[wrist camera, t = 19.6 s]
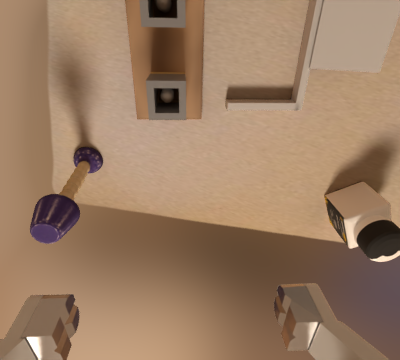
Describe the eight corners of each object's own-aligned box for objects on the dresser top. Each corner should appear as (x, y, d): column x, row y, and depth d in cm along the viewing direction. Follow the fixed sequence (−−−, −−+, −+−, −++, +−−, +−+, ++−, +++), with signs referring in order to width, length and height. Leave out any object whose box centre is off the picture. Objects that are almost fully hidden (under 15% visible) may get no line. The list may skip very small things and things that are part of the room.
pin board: (204, -66, 29) (209, -84, 24) (200, 116, 39) (203, 129, 34) (119, -70, 28) (107, -90, 23) (138, 116, 38) (132, 130, 33)
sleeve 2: (185, 72, 34) (186, 80, 29) (185, 106, 37) (186, 119, 31) (151, 72, 34) (145, 80, 29) (153, 106, 36) (148, 119, 31)
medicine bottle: (323, 194, 47) (363, 242, 37) (363, 180, 46) (416, 224, 36) (329, 222, 51) (367, 273, 40) (366, 209, 50) (415, 258, 39)
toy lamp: (106, 148, 40) (64, 217, 26) (107, 175, 42) (69, 251, 28) (73, 145, 40) (12, 213, 25) (76, 172, 42) (21, 249, 28)
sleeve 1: (184, -19, 30) (185, -28, 24) (184, 27, 32) (185, 27, 27) (144, -20, 29) (136, -29, 24) (147, 26, 31) (141, 26, 26)
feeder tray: (394, -63, 30) (433, -80, 25) (344, 106, 39) (366, 117, 35) (237, -71, 29) (248, -89, 24) (225, 106, 38) (231, 117, 33)
